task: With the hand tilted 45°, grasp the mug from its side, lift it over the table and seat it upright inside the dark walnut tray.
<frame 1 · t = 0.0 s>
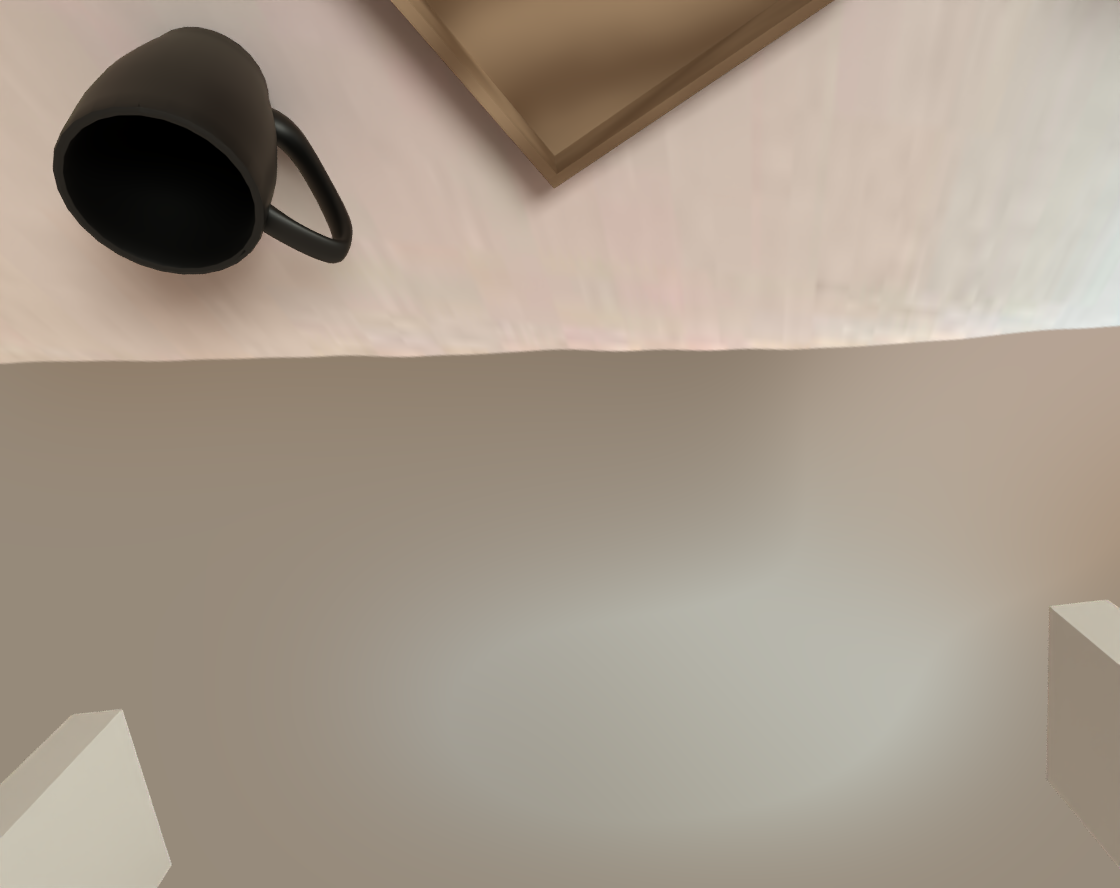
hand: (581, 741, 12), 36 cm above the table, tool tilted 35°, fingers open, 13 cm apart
mug: (248, 101, 41), on the table
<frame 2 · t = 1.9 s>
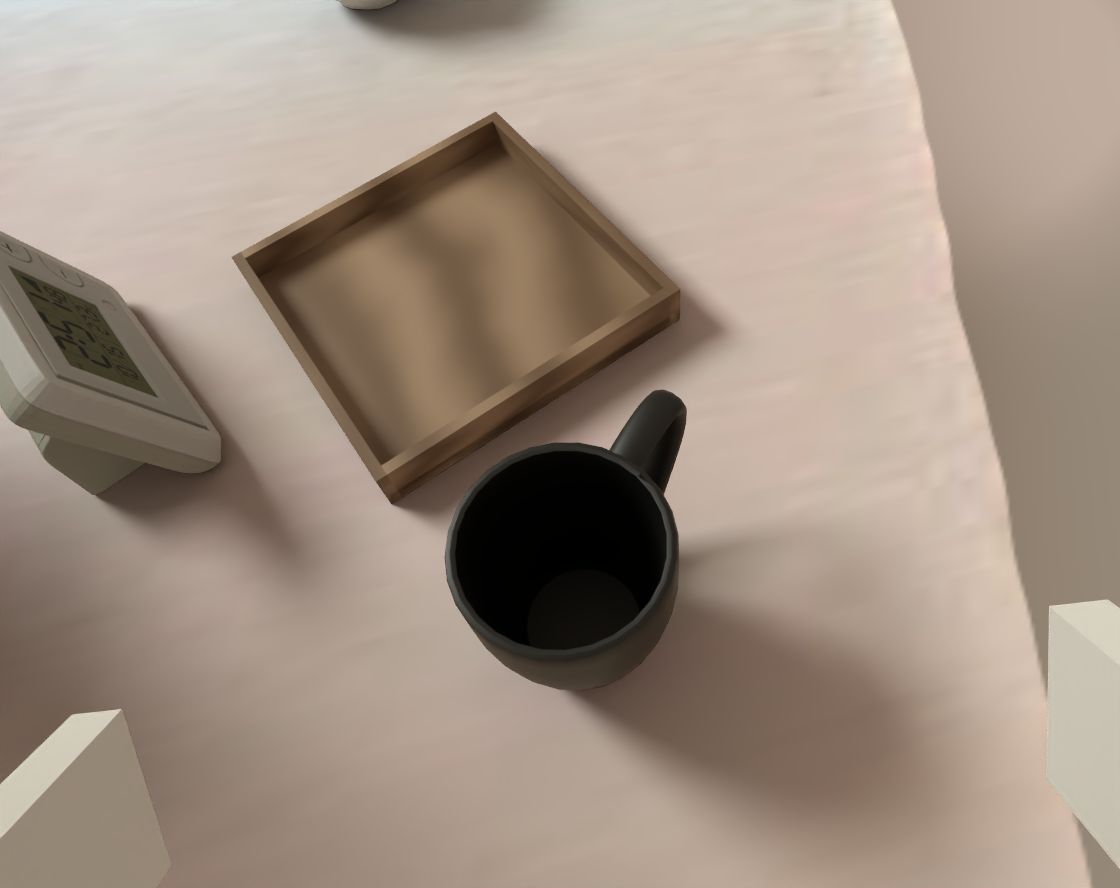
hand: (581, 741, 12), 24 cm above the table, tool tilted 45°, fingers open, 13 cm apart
mug: (608, 592, 38), on the table
digital clock: (134, 401, 46), on the table
walnut tray: (454, 301, 47), on the table
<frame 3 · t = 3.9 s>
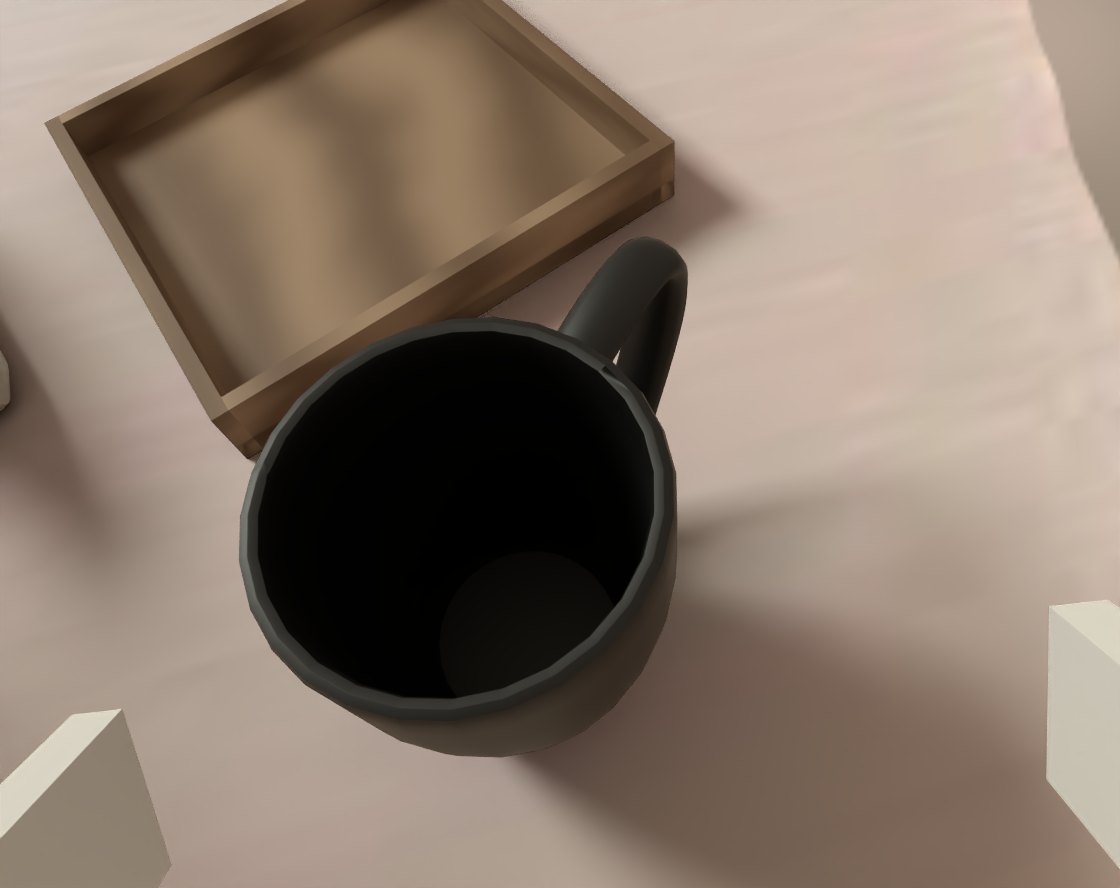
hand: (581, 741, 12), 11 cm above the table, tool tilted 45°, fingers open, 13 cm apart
mug: (567, 586, 24), on the table
walnut tray: (357, 181, 33), on the table
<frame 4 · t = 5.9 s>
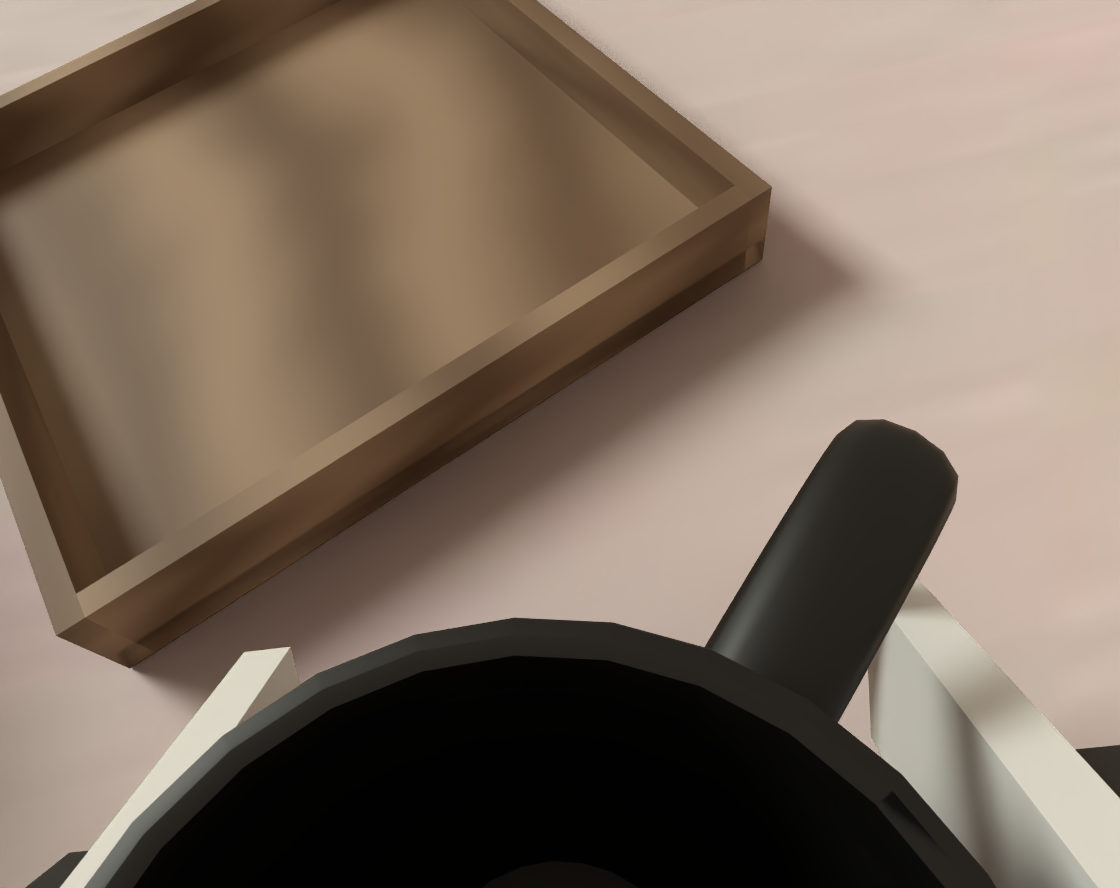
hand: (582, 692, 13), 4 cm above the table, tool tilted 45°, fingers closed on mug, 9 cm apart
walnut tray: (314, 234, 24), on the table
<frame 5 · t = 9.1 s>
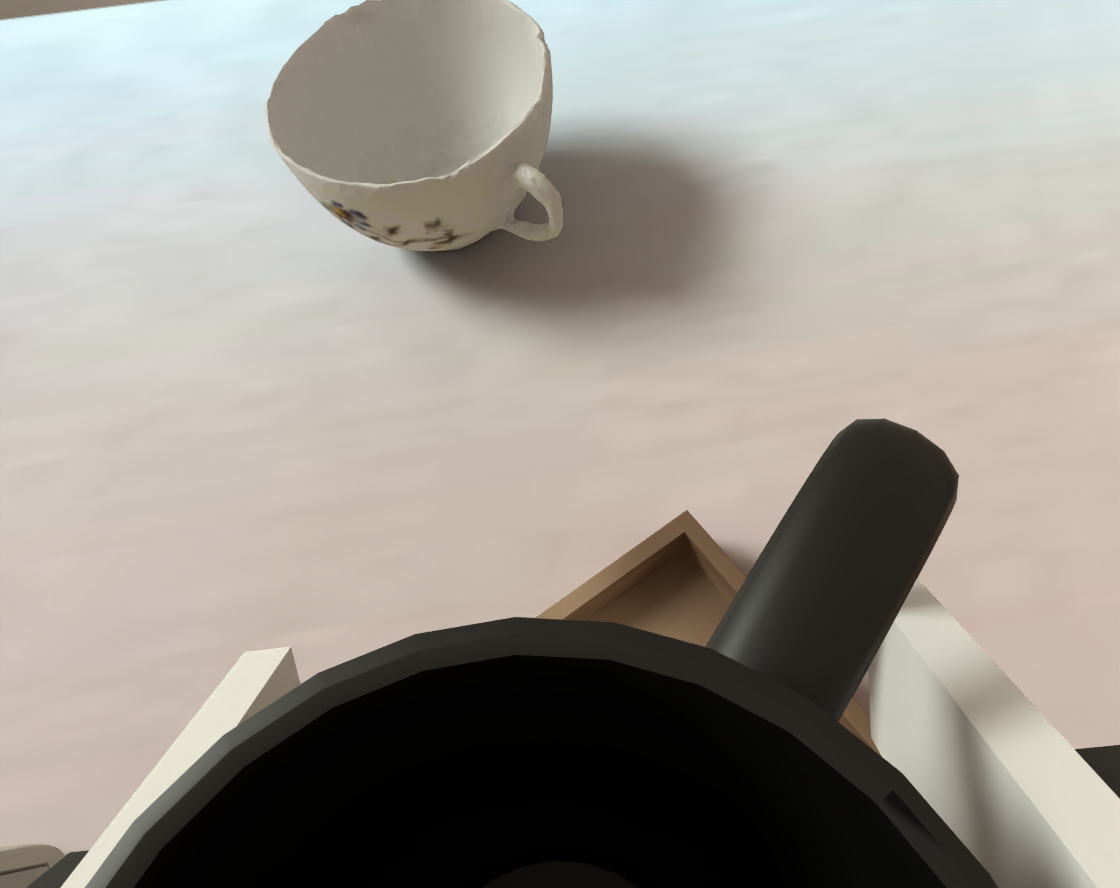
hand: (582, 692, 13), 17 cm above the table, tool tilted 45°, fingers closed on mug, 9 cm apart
teacup: (465, 225, 42), on the table
when the fingers open (6 cm above the table, at t = 12.2 s): mug drops 1 cm, resting on walnut tray.
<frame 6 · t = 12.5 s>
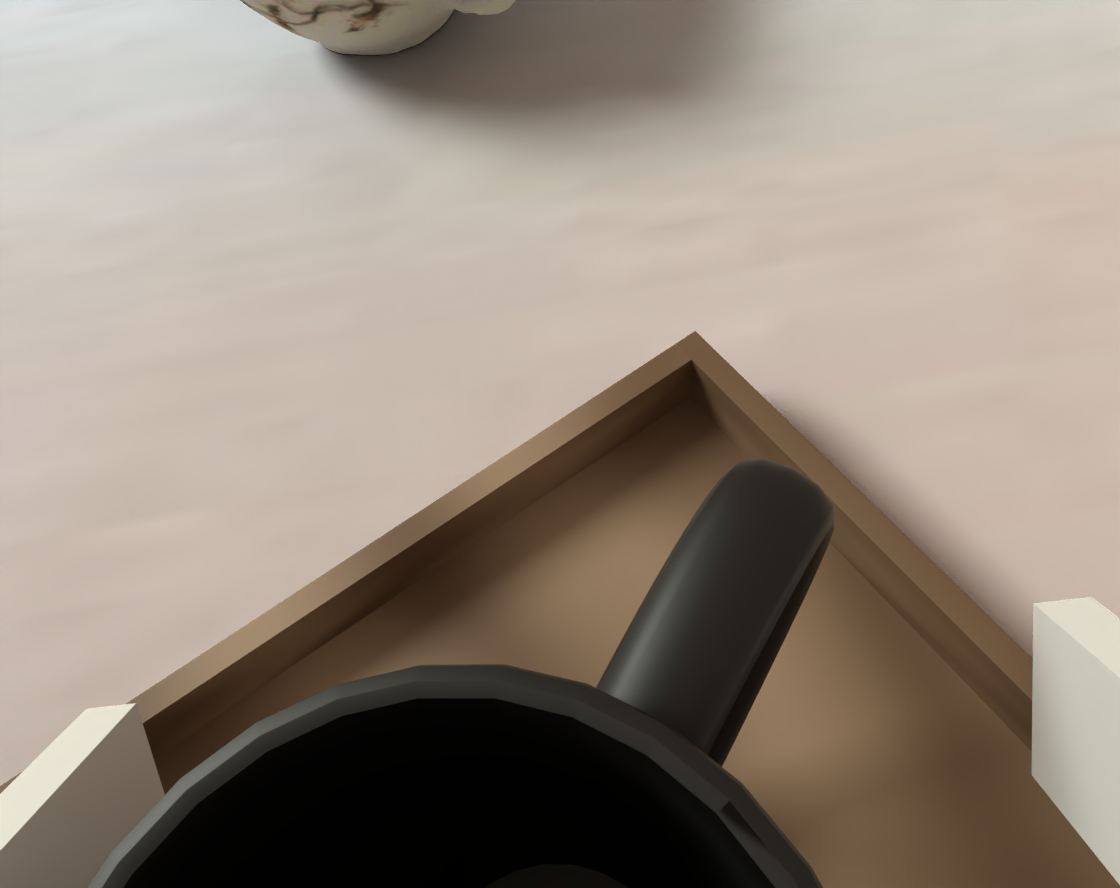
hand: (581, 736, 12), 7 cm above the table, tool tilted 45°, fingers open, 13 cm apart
teacup: (406, 28, 32), on the table
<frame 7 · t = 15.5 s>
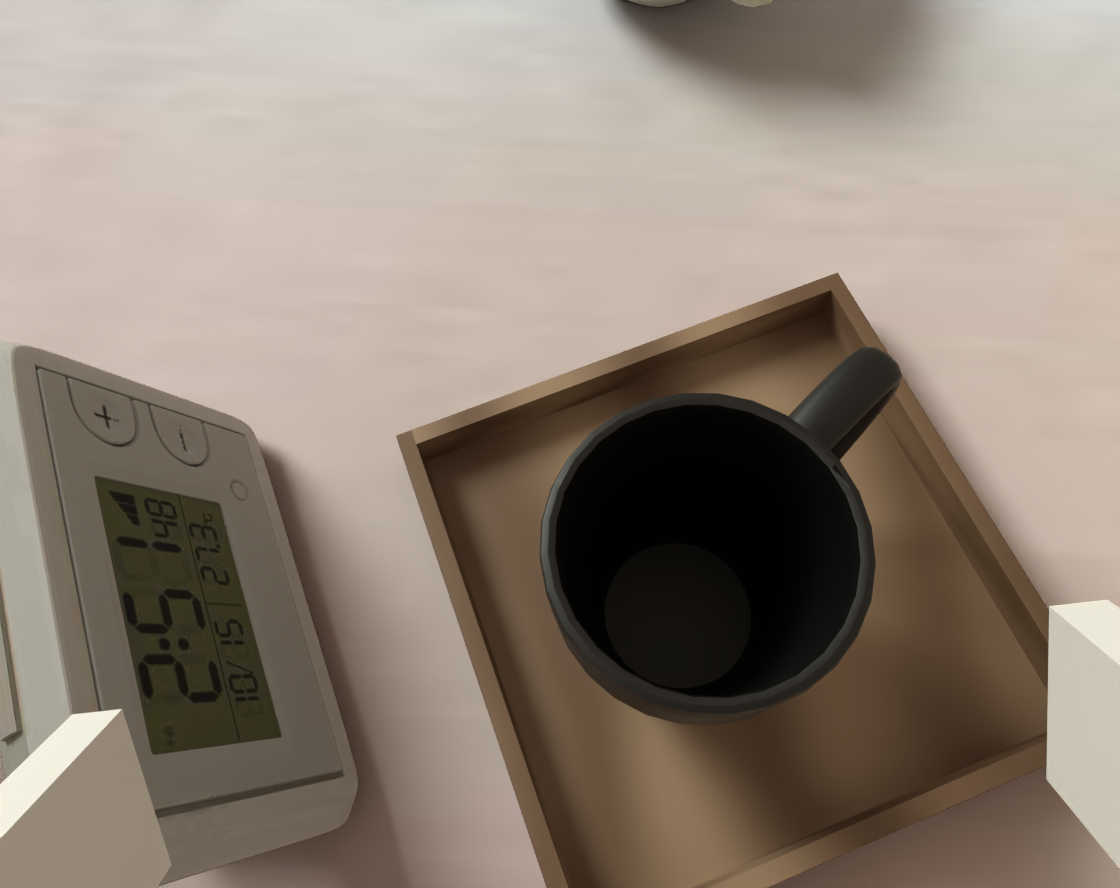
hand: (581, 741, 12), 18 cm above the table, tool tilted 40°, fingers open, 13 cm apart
mug: (713, 579, 30), point 1 cm above the table, touching walnut tray
digital clock: (243, 630, 31), on the table
walnut tray: (717, 586, 30), on the table
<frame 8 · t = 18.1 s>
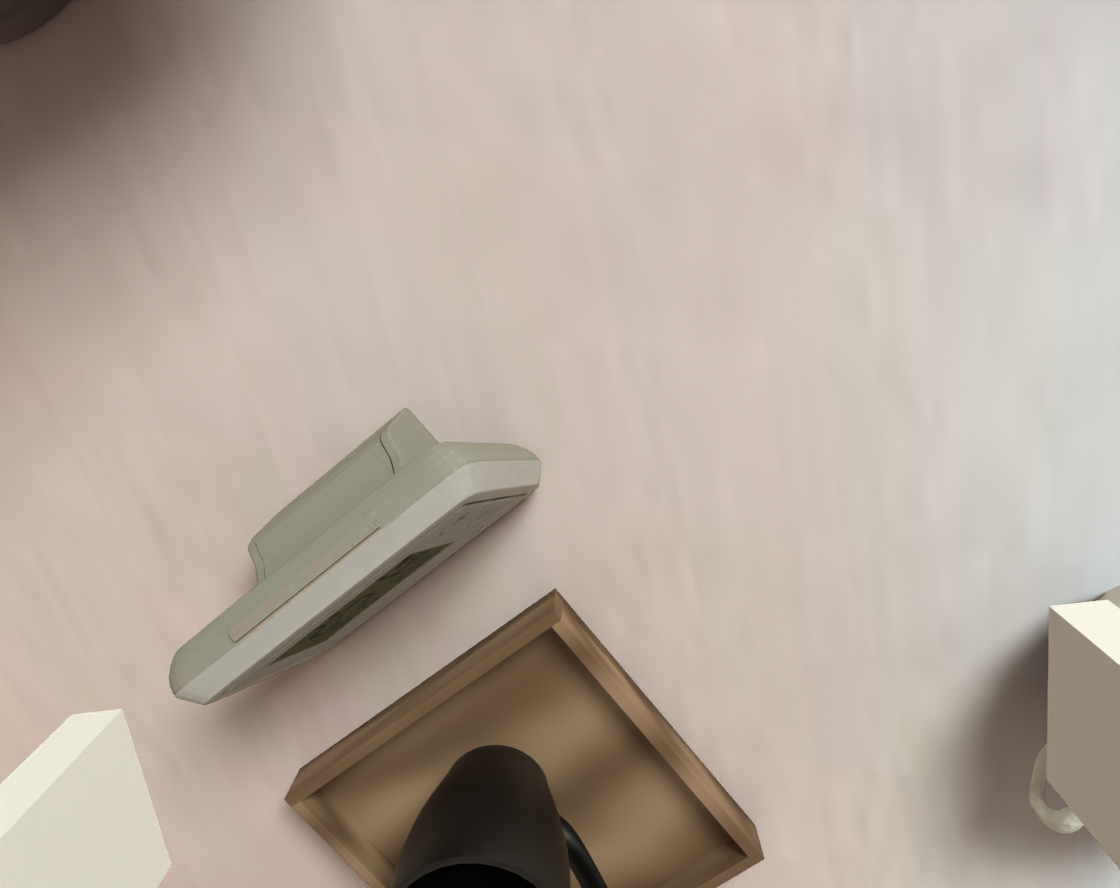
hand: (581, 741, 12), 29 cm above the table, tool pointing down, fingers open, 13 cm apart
mug: (527, 801, 45), point 1 cm above the table, touching walnut tray
digital clock: (398, 520, 42), on the table
teacup: (1096, 654, 43), on the table
walnut tray: (527, 797, 46), on the table
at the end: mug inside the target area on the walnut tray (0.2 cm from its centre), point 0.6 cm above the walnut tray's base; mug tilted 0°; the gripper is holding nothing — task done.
